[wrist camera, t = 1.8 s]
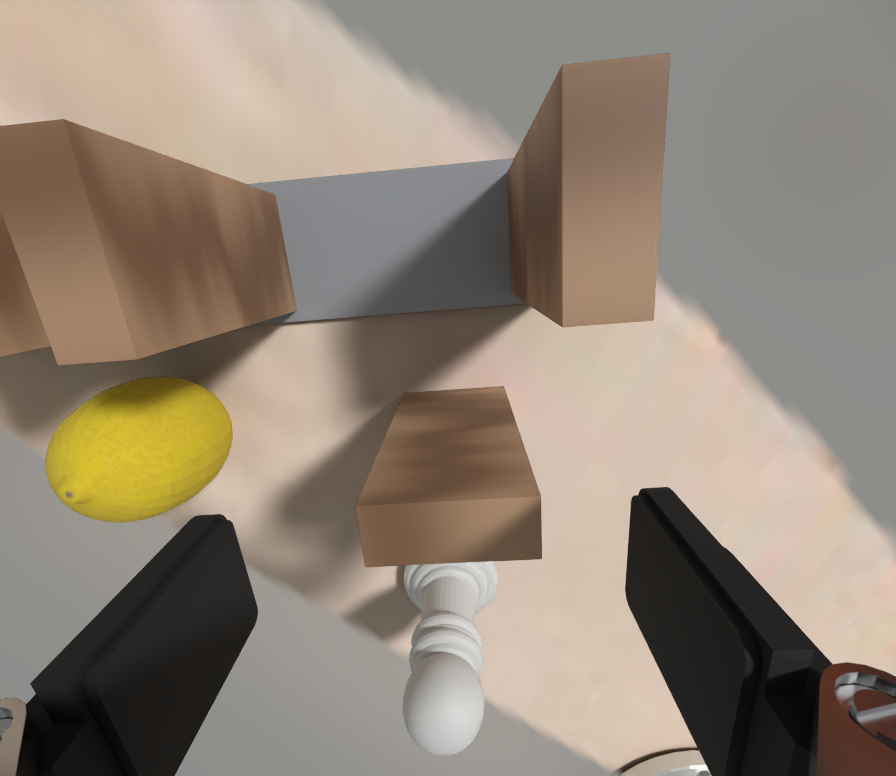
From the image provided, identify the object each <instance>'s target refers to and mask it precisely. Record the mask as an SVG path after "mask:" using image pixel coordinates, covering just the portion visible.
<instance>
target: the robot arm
mask: <svg viewBox="0 0 896 776" xmlns="http://www.w3.org/2000/svg"><path fill="white" fill-rule="evenodd" d="M625 592H626V598H627V602H628V605H629V607H630V609H631V611H632V613H633V616H634V618H635V620H636V622H637V624H638V626H639V628H640V630H641V632H642V634H643V636H644V638H645V640H646V642H647V644H648V646H649V649H650V651H651V653H652V655H653V657H654V659H655V661H656V663H657V665H658V667H659V669H660V671H661V673H662V675H663V677H664V679H665V681H666V684H667V686H668V688H669V690H670V692H671V694H672V696H673V698H674V700H675V702H676V704H677V706H678V708H679V710H680V712H681V714H682V717H683V719H684V721H685V723H686V725H687V727H688V729H689V731H690V733H691V735H692V737H693V739H694V741H695V743H696V745H697V747H698V749H699V750H689V751H680V752H672V753H668V754H664V755H660V756H656V757H654V758H651V759H649V760H646V761H644V762H641V763H639V764H637V765H635V766H634V767H632V768H630V769H628V770H627V771H625V772H624V773H623V774H621V775H620V776H896V676H894V675H892V674H889V673H887V672H885V671H882V670H879V669H876V668H873V667H870V666H867V665H862V664H855V663H848V662H846V663H838V664H832V663H831V662H830V661H829V660H828V659H827V658H826V657H825V656H824V654H823V653H822V652H821V651H820V650H819V649H818V648H817V647H816V646H815V644H814V643H813V642H812V641H811V640H810V639H809V638H808V637H807V636H806V635H805V633H804V632H803V631H802V630H801V629H800V628H799V627H798V626H797V625H796V624H795V622H794V621H793V620H792V619H791V618H790V617H789V616H788V615H787V614H786V613H785V611H784V610H783V609H782V608H781V607H780V606H779V605H778V604H777V603H776V602H775V600H774V599H773V598H772V597H771V596H770V595H769V594H768V593H767V592H766V591H765V589H764V588H763V587H762V586H761V585H760V584H759V583H758V582H757V581H756V579H755V578H754V577H753V576H752V575H751V574H750V573H749V572H748V571H747V570H746V568H745V567H744V566H743V565H742V564H741V563H740V562H739V561H738V560H737V559H736V557H735V556H734V555H733V554H732V553H731V552H730V551H728V550H727V549H726V548H724V547H723V546H722V545H721V544H720V543H719V542H718V541H717V540H716V539H715V538H714V536H713V535H712V534H711V533H710V532H709V531H708V530H707V529H706V527H705V526H704V525H703V524H702V523H701V522H700V521H699V520H698V519H697V517H696V516H695V515H694V514H693V513H692V512H691V511H690V510H689V509H688V507H687V506H686V505H685V504H684V503H683V502H682V501H681V500H680V499H679V497H678V496H677V495H676V494H675V493H674V492H673V491H672V490H671V489H670V488H668V487H660V488H644V489H641V490H640V492H639V495H636V496H633V497H632V500H631V513H630V527H629V542H628V557H627V572H626V586H625ZM257 615H258V610H257V604H256V601H255V597H254V594H253V591H252V587H251V584H250V580H249V577H248V573H247V570H246V567H245V563H244V560H243V556H242V553H241V550H240V546H239V543H238V539H237V536H236V532H235V529H234V526H233V523H232V522H231V521H230V520H227V519H226V518H225V517H224V516H223V515H221V514H216V515H199V516H195V517H193V518H192V519H191V520H190V521H189V522H188V523H187V524H186V525H185V526H184V527H183V528H182V529H181V530H180V531H179V532H178V533H177V534H176V535H175V536H174V537H173V538H172V539H171V540H170V541H169V542H168V543H167V544H166V545H165V546H164V547H163V549H161V550H160V551H159V553H157V554H156V556H155V557H154V558H153V559H152V560H151V561H150V562H149V563H148V564H147V565H146V566H145V567H144V568H143V569H142V570H141V571H140V572H139V573H138V574H137V575H136V576H135V577H134V578H133V579H132V580H131V581H130V582H129V583H128V584H127V585H126V586H125V587H124V588H123V589H122V590H121V591H120V592H119V593H118V594H117V595H116V596H115V598H113V599H112V601H110V603H109V604H108V605H107V606H106V607H105V608H104V609H103V610H102V611H101V612H100V613H99V614H98V615H97V616H96V617H95V618H94V619H93V620H92V621H91V622H90V623H89V624H88V625H87V626H86V627H85V628H84V629H83V630H82V631H81V632H80V633H79V634H78V635H77V636H76V637H75V638H74V639H73V640H72V641H71V642H70V644H68V646H66V647H65V648H64V649H63V651H62V652H61V653H60V654H59V655H58V656H57V657H56V658H55V659H54V660H53V661H52V662H51V663H50V664H49V665H48V666H47V667H46V668H45V669H44V670H43V671H42V672H41V673H40V674H39V675H38V676H37V677H36V678H35V679H34V680H33V681H32V683H30V684H31V685H32V687H33V689H34V691H35V693H36V695H35V696H34V697H33V698H32V699H31V700H30V701H29V702H28V703H27V704H25V703H24V702H22V701H21V700H20V699H16V698H4V699H0V776H175V774H176V772H177V770H178V768H179V766H180V764H181V762H182V760H183V759H184V757H185V755H186V753H187V751H188V749H189V747H190V746H191V744H192V742H193V740H194V738H195V736H196V734H197V733H198V730H199V729H200V727H201V725H202V723H203V721H204V719H205V718H206V716H207V714H208V712H209V710H210V708H211V706H212V704H213V703H214V701H215V699H216V697H217V695H218V693H219V691H220V689H221V688H222V686H223V683H224V682H225V680H226V678H227V676H228V674H229V672H230V671H231V669H232V667H233V665H234V663H235V661H236V659H237V658H238V656H239V653H240V652H241V650H242V648H243V646H244V644H245V643H246V641H247V639H248V637H249V635H250V633H251V631H252V629H253V628H254V626H255V623H256V620H257Z"/></svg>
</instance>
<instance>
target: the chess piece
mask: <svg viewBox="0 0 896 776" xmlns="http://www.w3.org/2000/svg"><path fill="white" fill-rule="evenodd" d="M404 584H405V589H406V592H407V594H408V596H409V598H410V599H411V601H412V602H413V603H414V604H415V605H416V606H417V607H418V608H419V609H421V610H422V615H421V622H420V623H419V624H418V625H417V626H416V628H415V630H414V632H413V635H412V648H411V651H410V655H409V661H410V667H411V670H412V673H411V675H410V677H409V679H408V682H407V684H406V688H405V692H404V697H403V716H404V721H405V725H406V728H407V730H408V732H409V734H410V736H411V737H412V739H413V740H414V741H415V742H416V743H417V745H418V746H420V747H421V748H422V749H424V750H425V751H427V752H429V753H431V754H434V755H441V756H447V755H452V754H455V753H458V752H460V751H462V750H463V749H464V748H466V747H467V746H468V745H469V744H470V743H471V742H472V741H473V739H474V738H475V736H476V734H477V732H478V730H479V728H480V725H481V722H482V718H483V712H484V693H483V688H482V685H481V682H480V679H479V677H478V676H479V675H480V673H481V670H482V666H483V654H482V651H481V650H482V637H481V634H480V632H479V630H478V628H477V627H476V625H475V621H474V614H476V613H478V612H480V611H481V610H483V609H484V608H485V607H486V606H487V605H488V604H489V603H490V602H491V600H492V599H493V597H494V595H495V593H496V589H497V585H498V573H497V568H496V566H495V564H494V562H493V561H488V562H466V563H445V564H423V565H406V566H405V570H404Z"/></svg>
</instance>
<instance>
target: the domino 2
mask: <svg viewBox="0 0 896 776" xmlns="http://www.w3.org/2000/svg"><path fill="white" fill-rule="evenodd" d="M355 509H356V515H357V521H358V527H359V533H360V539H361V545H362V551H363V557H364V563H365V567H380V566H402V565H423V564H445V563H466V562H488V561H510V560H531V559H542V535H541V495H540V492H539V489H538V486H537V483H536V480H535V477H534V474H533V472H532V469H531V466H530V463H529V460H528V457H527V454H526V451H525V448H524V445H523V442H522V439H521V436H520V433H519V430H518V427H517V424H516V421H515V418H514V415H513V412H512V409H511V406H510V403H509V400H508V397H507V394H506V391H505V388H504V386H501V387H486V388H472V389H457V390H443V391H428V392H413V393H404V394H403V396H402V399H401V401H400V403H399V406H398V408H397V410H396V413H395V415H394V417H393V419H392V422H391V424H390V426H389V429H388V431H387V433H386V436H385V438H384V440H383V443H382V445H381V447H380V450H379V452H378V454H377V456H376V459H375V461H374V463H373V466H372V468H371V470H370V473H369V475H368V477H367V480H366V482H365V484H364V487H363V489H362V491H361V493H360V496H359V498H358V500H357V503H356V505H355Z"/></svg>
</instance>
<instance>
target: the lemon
mask: <svg viewBox="0 0 896 776" xmlns="http://www.w3.org/2000/svg"><path fill="white" fill-rule="evenodd" d="M231 443H232V423H231V420H230V417H229V414H228V412H227V411H226V409H225V407H224V406H223V404H222V403H221V401H220V400H219V399H218V398H217V397H216V396H215V395H214V394H213V393H211V392H210V391H208V390H207V389H205V388H204V387H202V386H200V385H198V384H195V383H193V382H190V381H188V380H184V379H178V378H172V377H153V378H143V379H136V380H132V381H129V382H126V383H123V384H120V385H118V386H115V387H112V388H110V389H107V390H105V391H103V392H101V393H99V394H97V395H95V396H94V397H92V398H91V399H89V400H88V401H87V402H85V403H84V404H83V405H81V406H80V407H79V408H77V409H76V410H75V411H74V412H72V413H71V414H70V415H69V416H68V417H66V418H65V419H64V420H63V422H62V423H61V424H60V425H59V427H58V428H57V430H56V431H55V433H54V435H53V436H52V438H51V440H50V442H49V445H48V449H47V454H46V460H45V463H46V474H47V478H48V481H49V484H50V486H51V488H52V489H53V491H54V493H55V494H56V496H57V497H58V498H59V499H60V500H61V501H62V502H63V503H64V504H65V505H66V506H68V507H69V508H71V509H72V510H74V511H75V512H77V513H79V514H82V515H84V516H86V517H89V518H93V519H97V520H100V521H106V522H132V521H137V520H142V519H147V518H150V517H154V516H156V515H159V514H161V513H163V512H165V511H168V510H170V509H172V508H174V507H176V506H178V505H180V504H182V503H184V502H186V501H187V500H189V499H190V498H192V497H193V496H195V495H196V494H197V493H198V492H200V491H201V490H202V489H203V488H204V487H205V486H206V485H207V484H208V483H209V482H211V481H212V480H213V479H214V477H215V476H216V475H217V474H218V472H219V471H220V469H221V468H222V466H223V464H224V462H225V461H226V459H227V457H228V455H229V452H230V448H231Z"/></svg>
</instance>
